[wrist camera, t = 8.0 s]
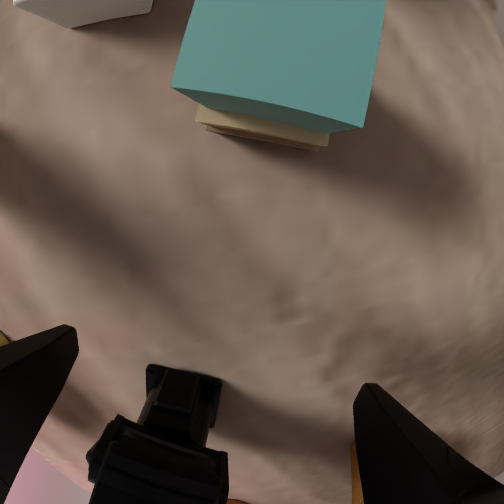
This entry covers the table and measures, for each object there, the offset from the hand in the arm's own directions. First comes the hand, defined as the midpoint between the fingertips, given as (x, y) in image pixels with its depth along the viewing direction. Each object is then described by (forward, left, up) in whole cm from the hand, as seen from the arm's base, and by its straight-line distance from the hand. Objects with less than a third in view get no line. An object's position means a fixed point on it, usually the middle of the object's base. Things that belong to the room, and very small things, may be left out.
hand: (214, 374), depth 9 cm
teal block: (+10, 0, -6) cm, 12 cm away
